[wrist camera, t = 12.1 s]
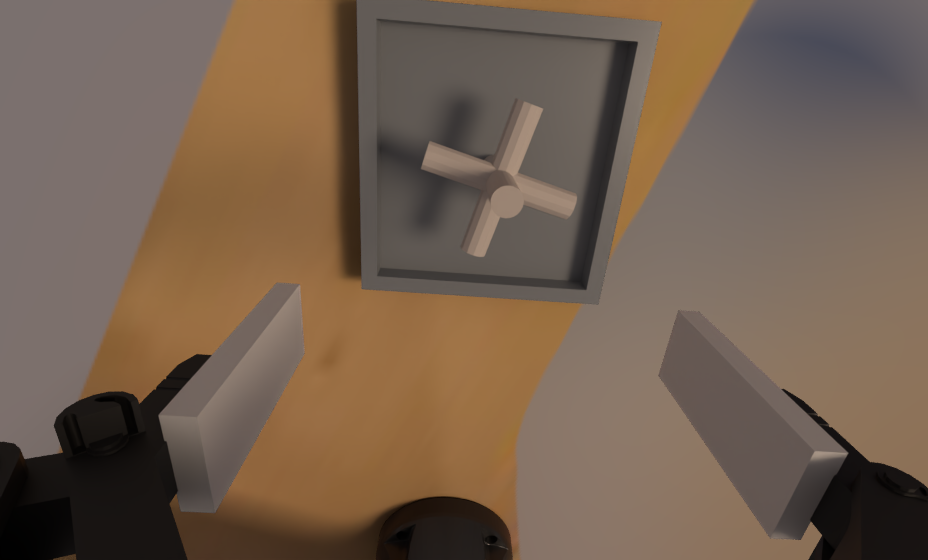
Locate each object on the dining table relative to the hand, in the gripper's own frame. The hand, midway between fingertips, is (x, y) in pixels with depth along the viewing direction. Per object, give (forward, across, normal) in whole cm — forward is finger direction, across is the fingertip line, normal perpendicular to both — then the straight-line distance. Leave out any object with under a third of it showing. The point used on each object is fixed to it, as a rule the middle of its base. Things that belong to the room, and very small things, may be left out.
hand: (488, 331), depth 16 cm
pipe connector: (+21, -1, -2) cm, 21 cm away
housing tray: (+21, -1, -2) cm, 21 cm away
